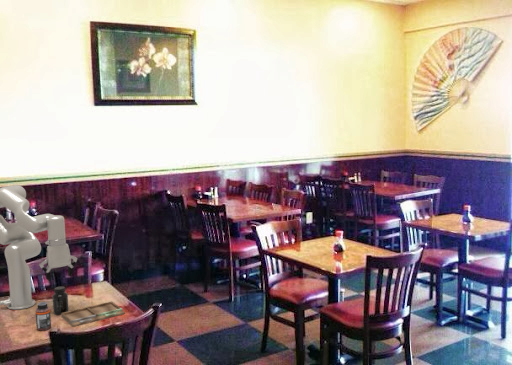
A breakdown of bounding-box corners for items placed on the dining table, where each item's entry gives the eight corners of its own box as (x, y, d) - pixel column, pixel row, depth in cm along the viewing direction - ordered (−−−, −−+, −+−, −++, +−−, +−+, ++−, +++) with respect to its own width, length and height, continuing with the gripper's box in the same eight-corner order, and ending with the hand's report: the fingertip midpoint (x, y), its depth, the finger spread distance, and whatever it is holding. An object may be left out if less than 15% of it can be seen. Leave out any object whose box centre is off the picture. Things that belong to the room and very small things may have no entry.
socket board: (72, 327, 236) (72, 323, 236) (61, 316, 248) (61, 313, 248) (124, 313, 251) (124, 310, 251) (111, 304, 263) (111, 301, 263)
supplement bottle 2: (71, 310, 255) (70, 286, 254) (62, 316, 249) (60, 291, 247) (59, 309, 258) (58, 285, 256) (50, 314, 251) (48, 289, 250)
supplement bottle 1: (39, 325, 238) (37, 301, 236) (52, 325, 238) (51, 300, 237) (34, 331, 232) (33, 306, 230) (48, 330, 232) (47, 305, 231)
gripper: (40, 246, 241) (43, 284, 243) (78, 240, 251) (80, 276, 253) (35, 243, 247) (38, 280, 249) (73, 238, 257) (75, 272, 259)
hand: (59, 278), depth 251 cm, fingers open, 9 cm apart
